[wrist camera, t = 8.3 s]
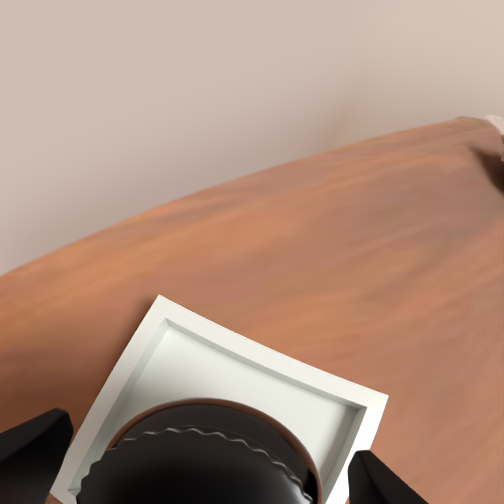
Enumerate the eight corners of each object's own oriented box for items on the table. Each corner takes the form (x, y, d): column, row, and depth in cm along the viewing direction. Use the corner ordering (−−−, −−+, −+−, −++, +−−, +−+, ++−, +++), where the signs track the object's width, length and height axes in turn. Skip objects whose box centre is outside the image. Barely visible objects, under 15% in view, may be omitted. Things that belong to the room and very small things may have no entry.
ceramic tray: (275, 588, 10) (280, 603, 8) (65, 486, 12) (47, 490, 10) (372, 400, 17) (388, 395, 15) (166, 308, 19) (159, 294, 17)
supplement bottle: (308, 470, 14) (434, 524, 4) (214, 541, 11) (191, 674, 1) (224, 385, 16) (211, 309, 6) (131, 454, 14) (-16, 471, 4)
